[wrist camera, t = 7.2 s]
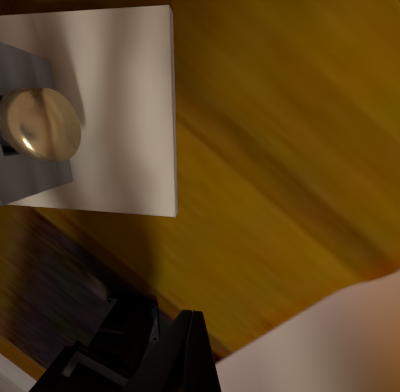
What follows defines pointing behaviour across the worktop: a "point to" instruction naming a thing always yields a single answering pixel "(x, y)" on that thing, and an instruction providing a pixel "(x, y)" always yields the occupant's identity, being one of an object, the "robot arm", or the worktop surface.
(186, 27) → the worktop surface
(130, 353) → the robot arm
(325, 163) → the worktop surface
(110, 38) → the bearing block
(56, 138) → the shaft
